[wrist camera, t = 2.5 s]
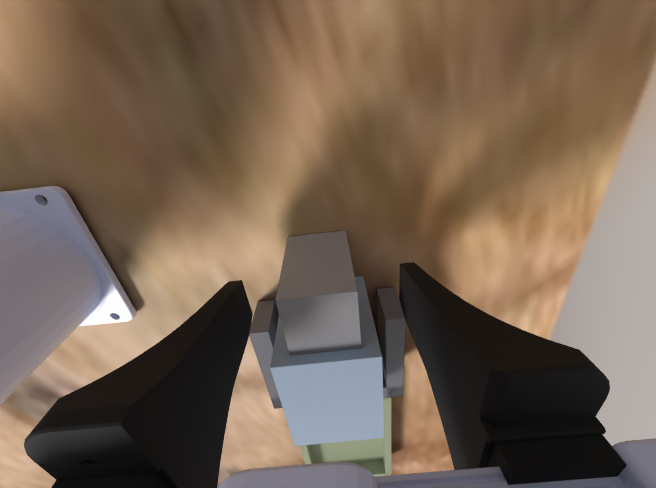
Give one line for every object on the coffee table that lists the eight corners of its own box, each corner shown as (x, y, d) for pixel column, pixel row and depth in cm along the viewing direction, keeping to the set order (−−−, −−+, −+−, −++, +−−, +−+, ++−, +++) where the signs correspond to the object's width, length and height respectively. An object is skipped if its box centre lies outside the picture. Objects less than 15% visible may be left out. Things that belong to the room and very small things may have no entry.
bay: (279, 373, 20) (274, 408, 18) (257, 301, 17) (248, 333, 15) (393, 361, 20) (403, 396, 17) (394, 287, 16) (405, 317, 14)
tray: (311, 462, 26) (310, 482, 25) (289, 383, 20) (287, 404, 19) (387, 456, 26) (391, 475, 25) (386, 374, 20) (391, 394, 19)
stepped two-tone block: (300, 355, 19) (294, 446, 14) (273, 238, 15) (252, 311, 10) (367, 348, 19) (384, 437, 14) (360, 228, 15) (380, 298, 10)
